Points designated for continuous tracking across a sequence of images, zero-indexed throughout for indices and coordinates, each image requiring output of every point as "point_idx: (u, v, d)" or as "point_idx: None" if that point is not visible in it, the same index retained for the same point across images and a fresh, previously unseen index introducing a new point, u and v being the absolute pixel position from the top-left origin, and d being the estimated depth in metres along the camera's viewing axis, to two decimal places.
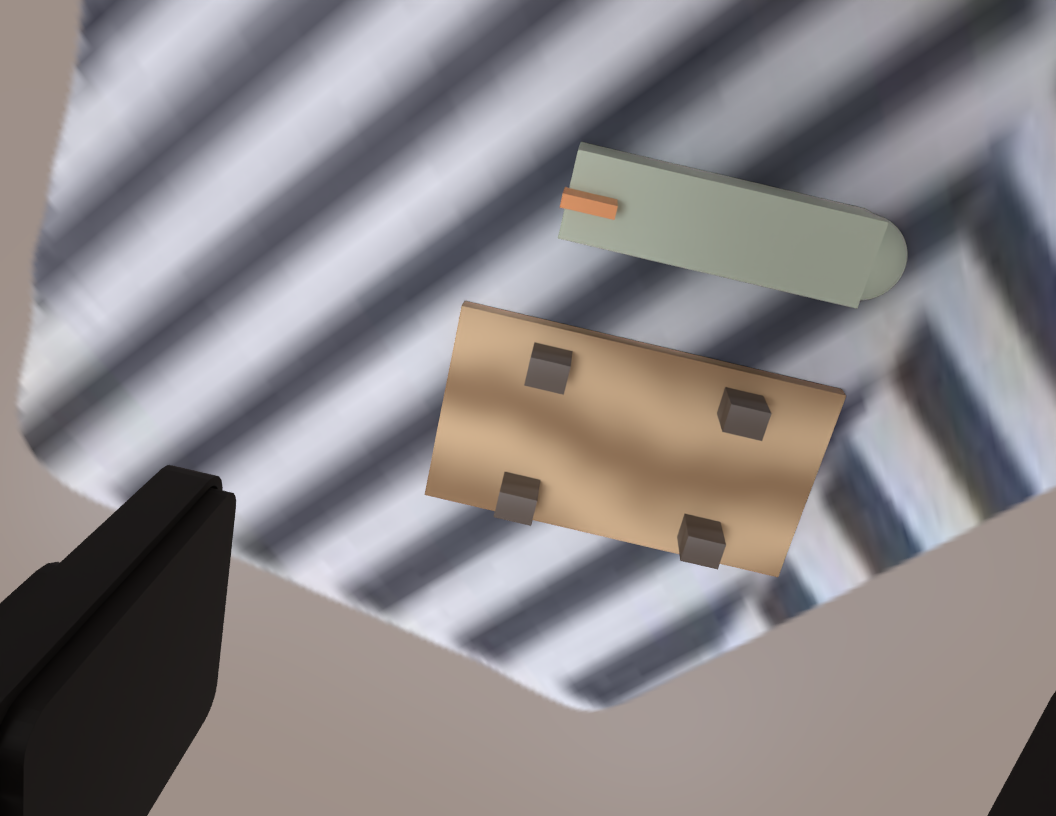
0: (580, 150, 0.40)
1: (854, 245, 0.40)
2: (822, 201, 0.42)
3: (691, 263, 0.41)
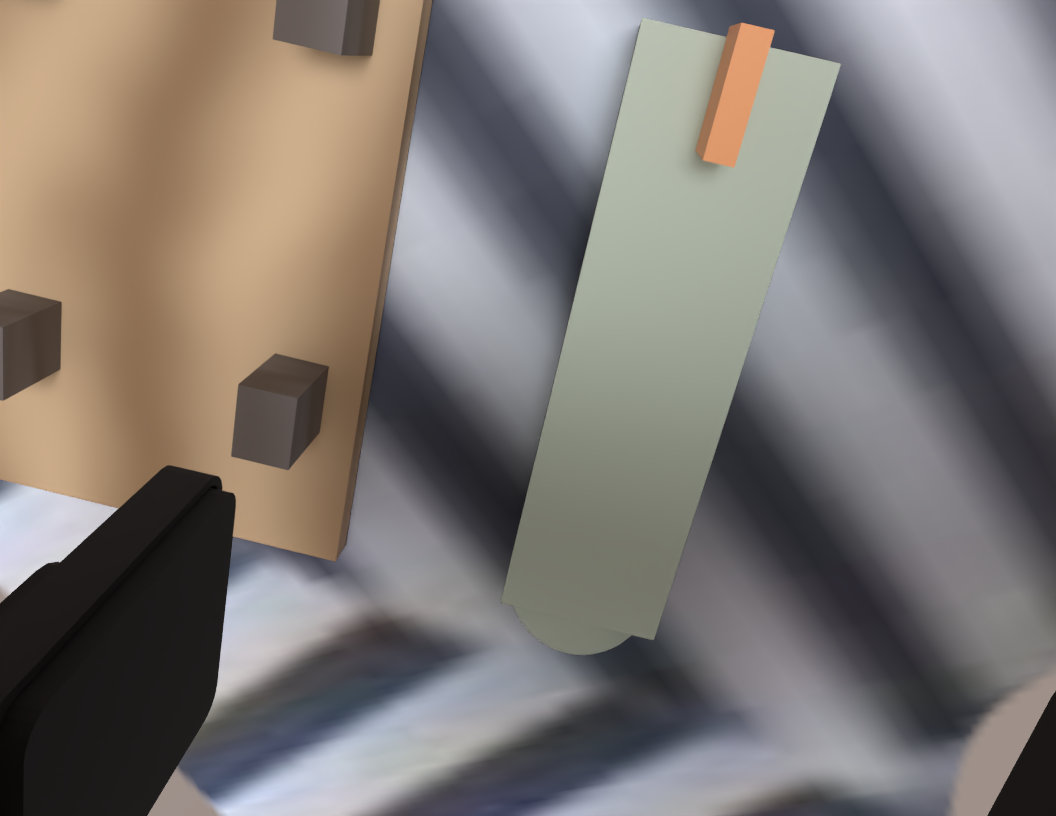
0: (837, 68, 0.18)
1: (614, 593, 0.23)
2: None
3: (583, 315, 0.20)
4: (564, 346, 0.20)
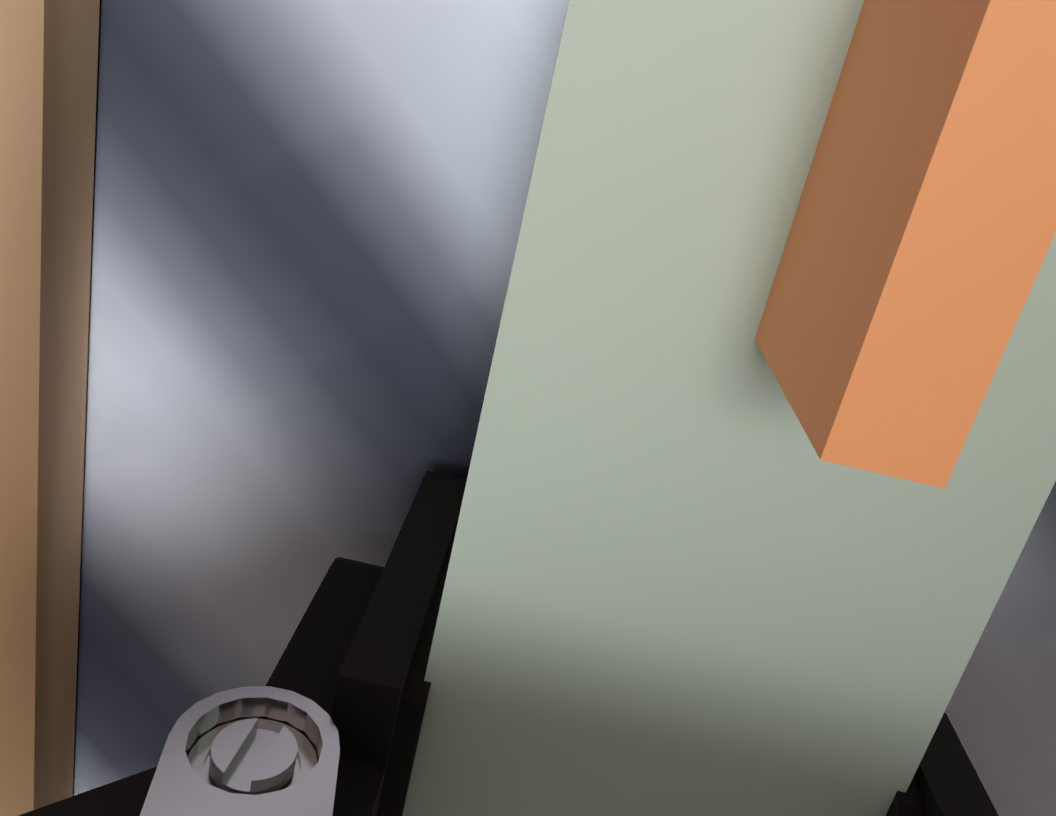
0: None
1: None
2: None
3: (443, 747, 0.08)
4: None
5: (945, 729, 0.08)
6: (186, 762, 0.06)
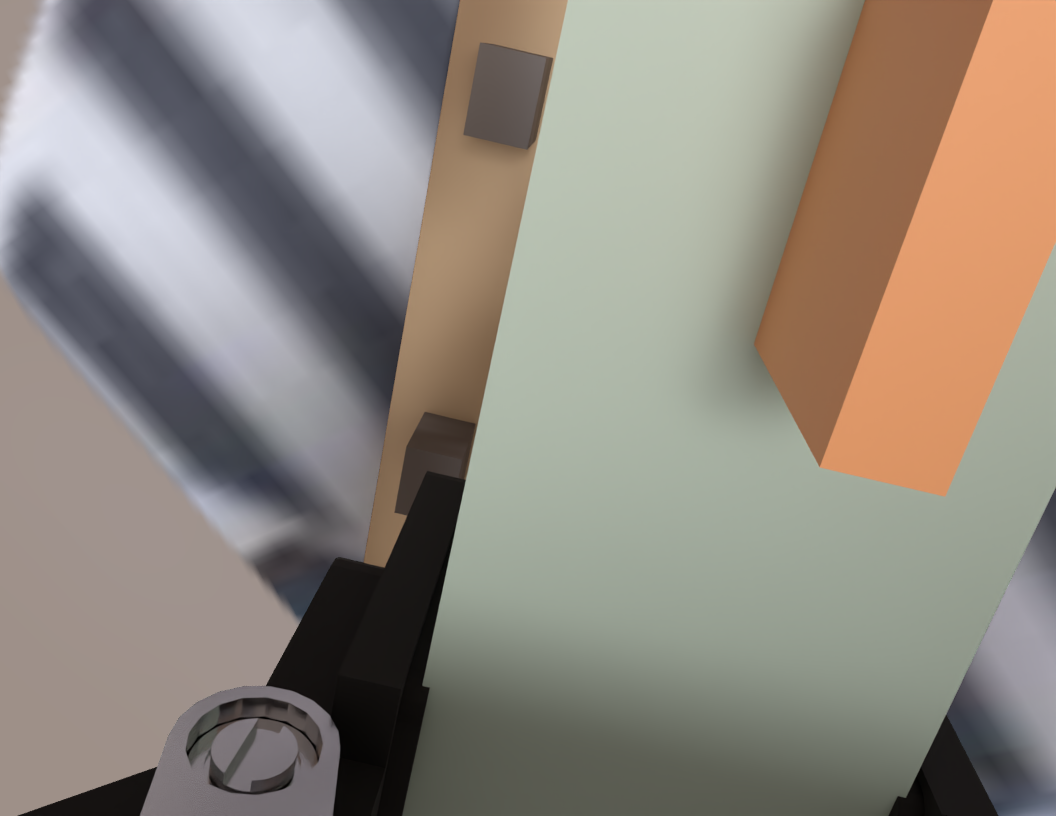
0: None
1: None
2: None
3: (442, 752, 0.07)
4: None
5: (945, 729, 0.08)
6: (186, 762, 0.06)
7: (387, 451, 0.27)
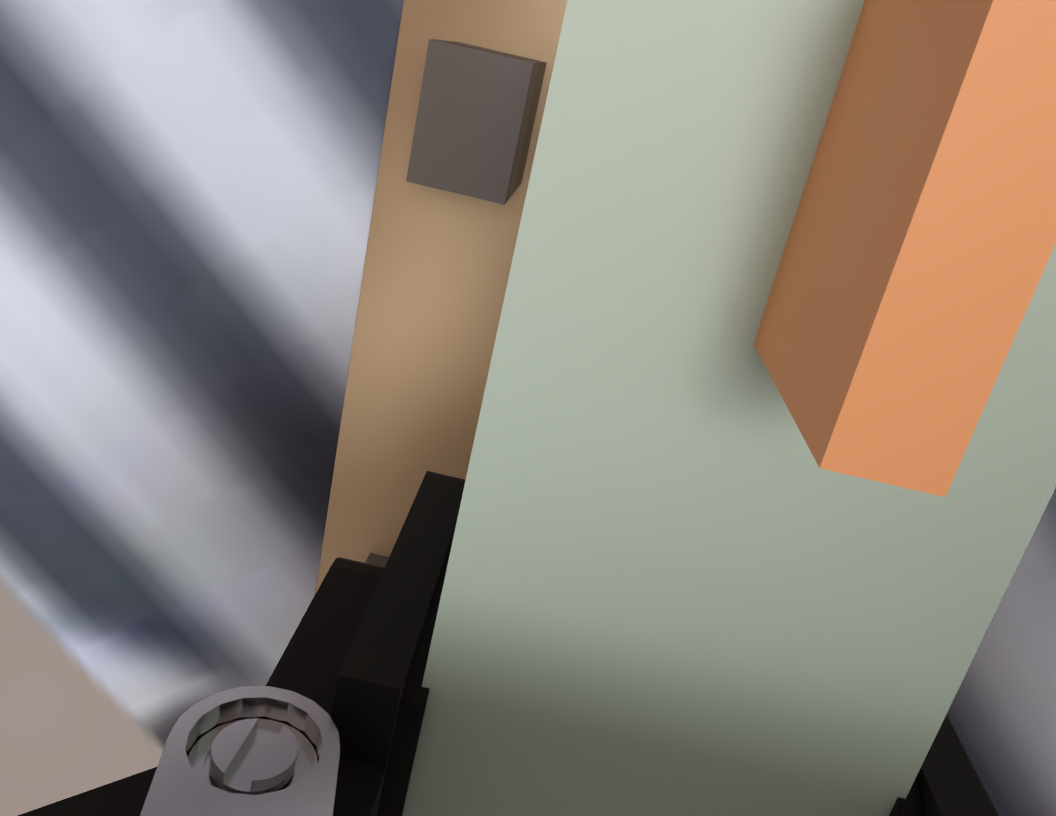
0: None
1: None
2: None
3: (441, 752, 0.07)
4: None
5: (945, 729, 0.08)
6: (186, 762, 0.06)
7: None
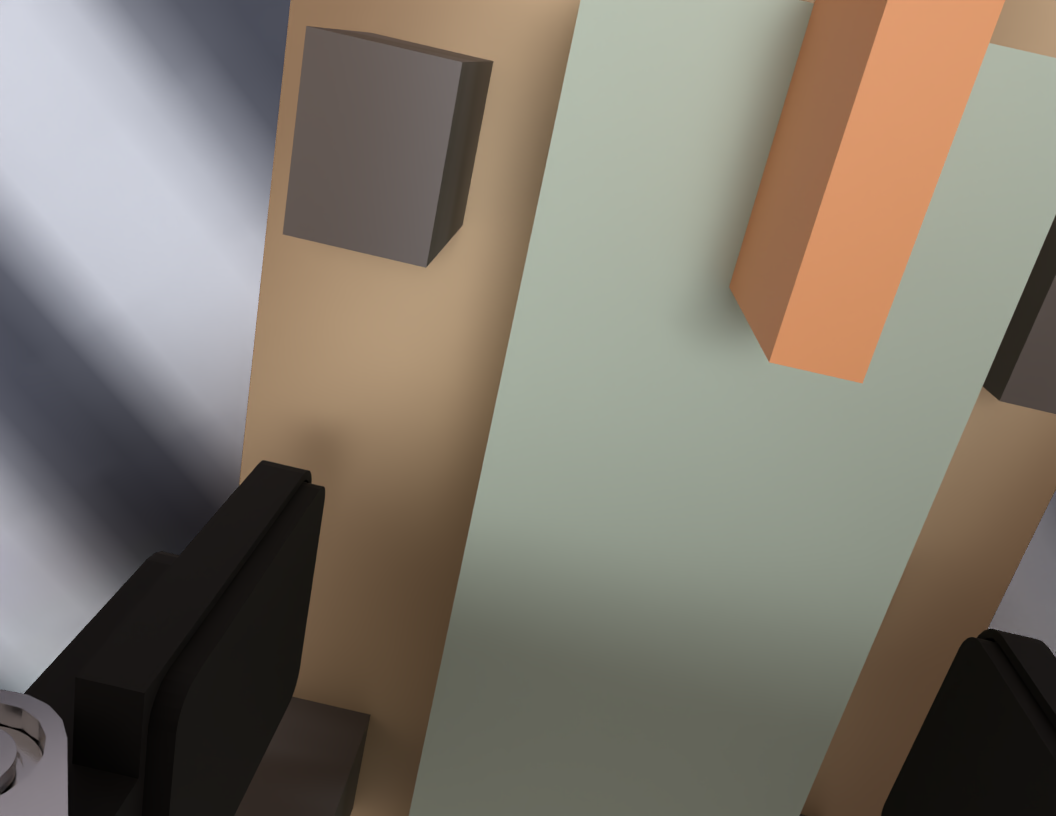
0: None
1: None
2: None
3: (474, 637, 0.09)
4: (437, 695, 0.09)
5: None
6: None
7: None
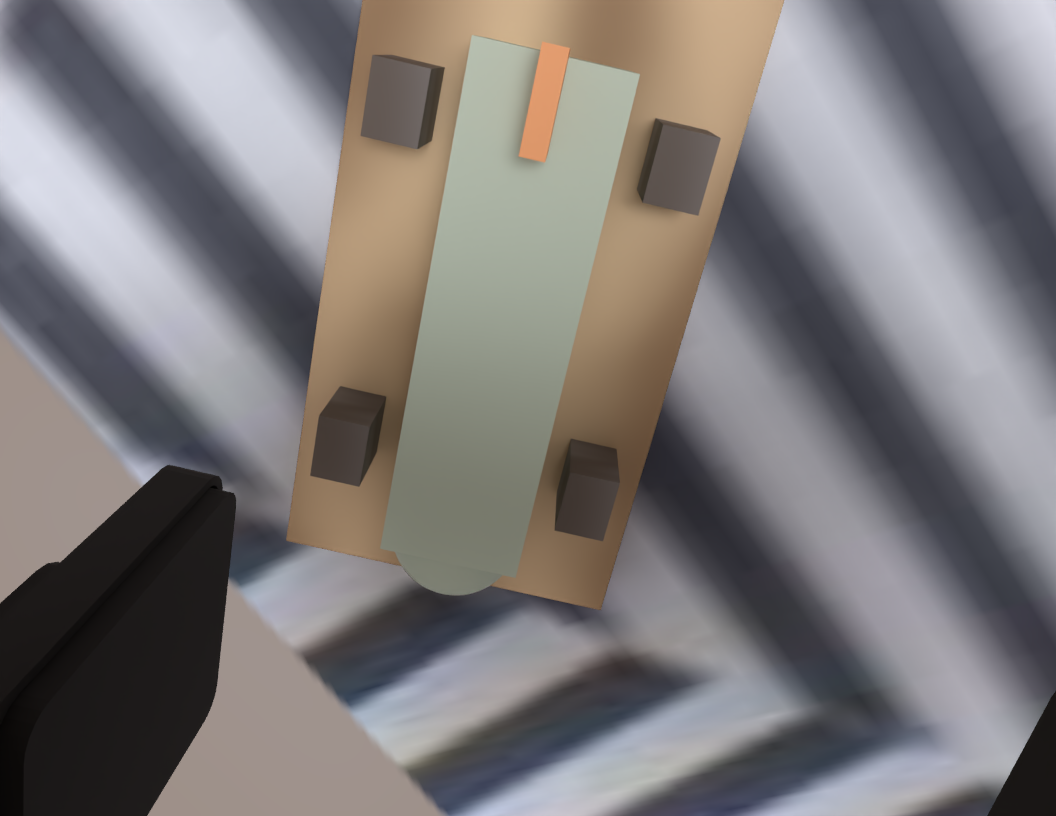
0: (637, 78, 0.21)
1: (479, 536, 0.26)
2: None
3: (436, 291, 0.23)
4: (422, 318, 0.23)
5: None
6: None
7: (307, 422, 0.29)
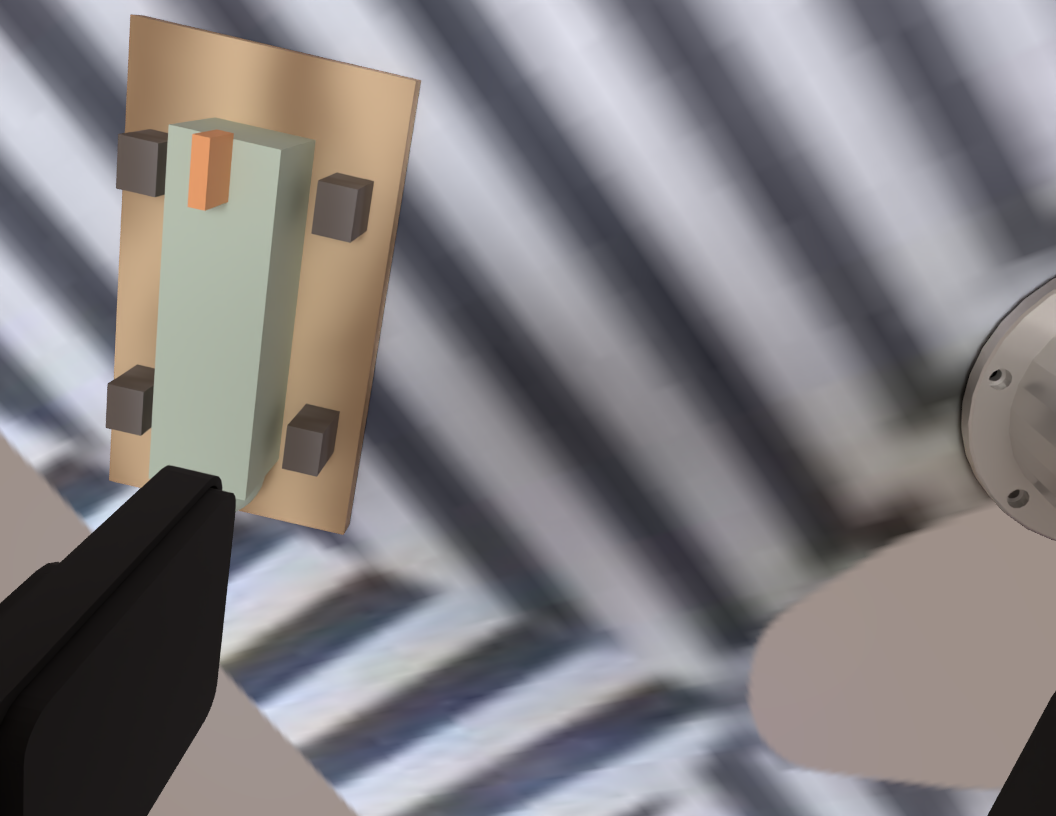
0: (280, 152, 0.31)
1: (216, 469, 0.36)
2: (272, 423, 0.38)
3: (166, 295, 0.34)
4: (158, 314, 0.34)
5: None
6: None
7: None
